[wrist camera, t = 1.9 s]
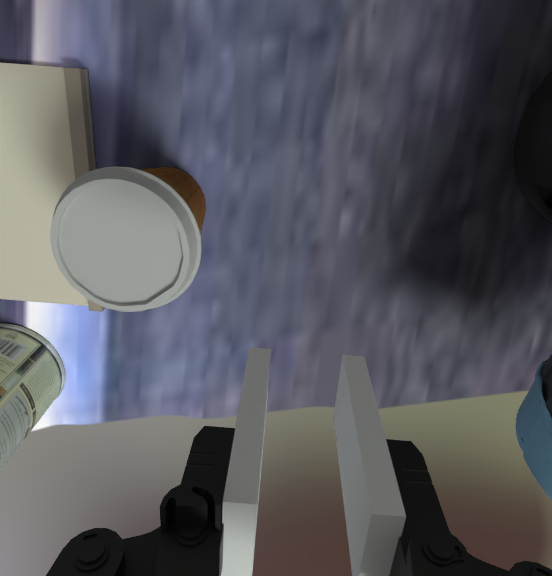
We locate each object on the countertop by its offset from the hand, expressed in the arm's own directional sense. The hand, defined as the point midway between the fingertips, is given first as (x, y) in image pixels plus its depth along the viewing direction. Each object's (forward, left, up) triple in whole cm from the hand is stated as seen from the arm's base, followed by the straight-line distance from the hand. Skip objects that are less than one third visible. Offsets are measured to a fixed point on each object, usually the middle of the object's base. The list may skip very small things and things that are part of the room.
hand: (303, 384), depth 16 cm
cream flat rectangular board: (+25, 0, -25) cm, 35 cm away
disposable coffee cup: (+11, 0, -25) cm, 27 cm away
